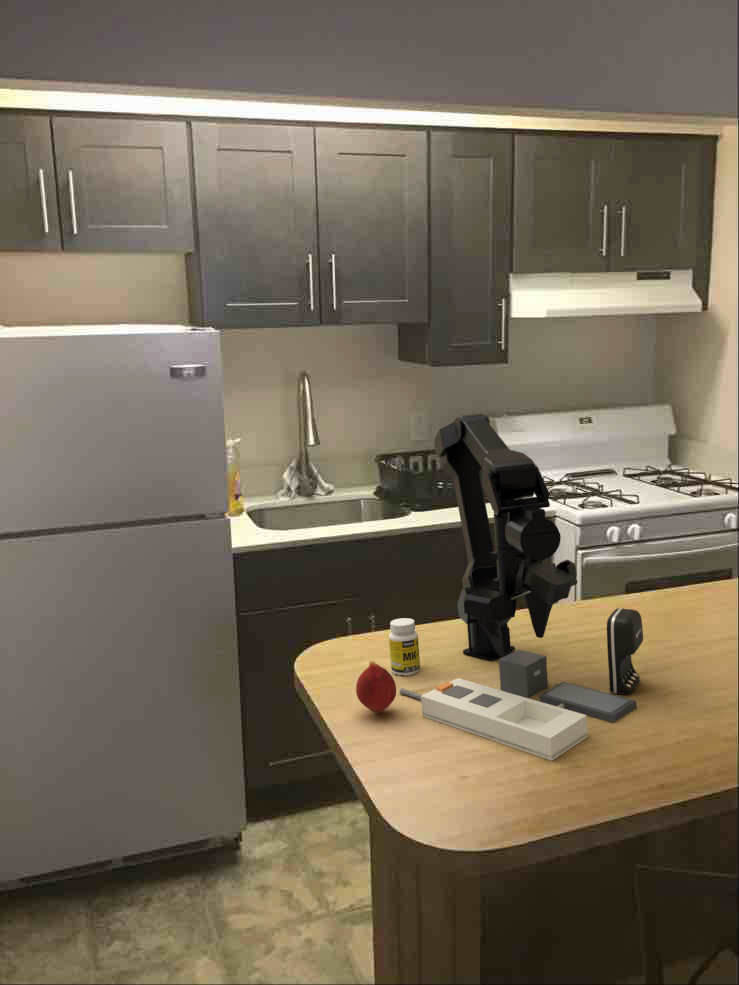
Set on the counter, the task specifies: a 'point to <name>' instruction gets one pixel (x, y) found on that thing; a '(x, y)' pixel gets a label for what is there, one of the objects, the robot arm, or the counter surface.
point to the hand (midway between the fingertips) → (521, 646)
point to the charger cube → (523, 673)
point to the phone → (588, 701)
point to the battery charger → (623, 649)
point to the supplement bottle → (404, 647)
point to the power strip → (504, 717)
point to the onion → (376, 688)
